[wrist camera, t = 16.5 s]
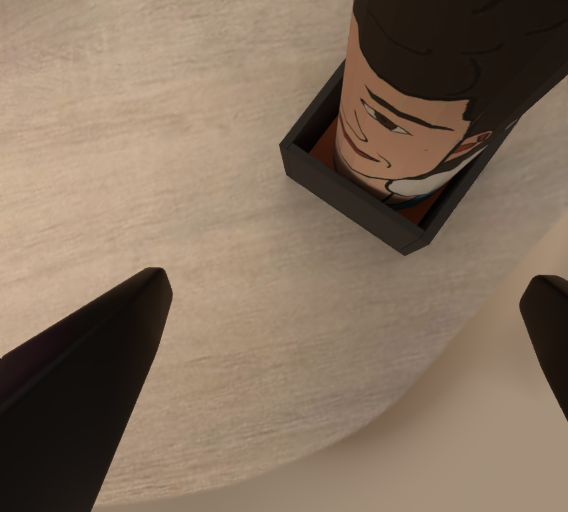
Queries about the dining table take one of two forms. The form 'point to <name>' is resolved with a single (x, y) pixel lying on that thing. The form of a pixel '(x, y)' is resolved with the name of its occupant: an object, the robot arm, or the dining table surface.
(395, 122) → the cartoon face cylinder
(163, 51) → the dining table surface
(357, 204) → the open tray
